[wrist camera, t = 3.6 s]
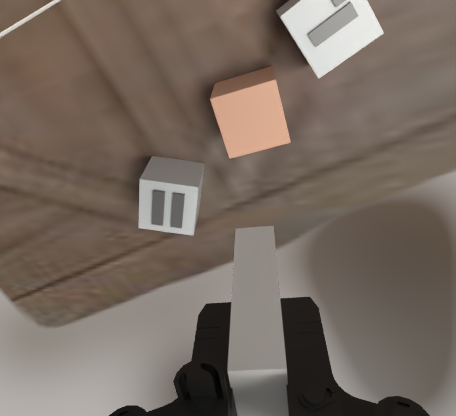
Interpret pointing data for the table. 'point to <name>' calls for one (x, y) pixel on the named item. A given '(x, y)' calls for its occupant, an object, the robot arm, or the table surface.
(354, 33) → the marked cube
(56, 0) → the geometric polyhedron
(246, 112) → the plain cube
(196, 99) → the table surface
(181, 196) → the marked cube
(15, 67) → the table surface
